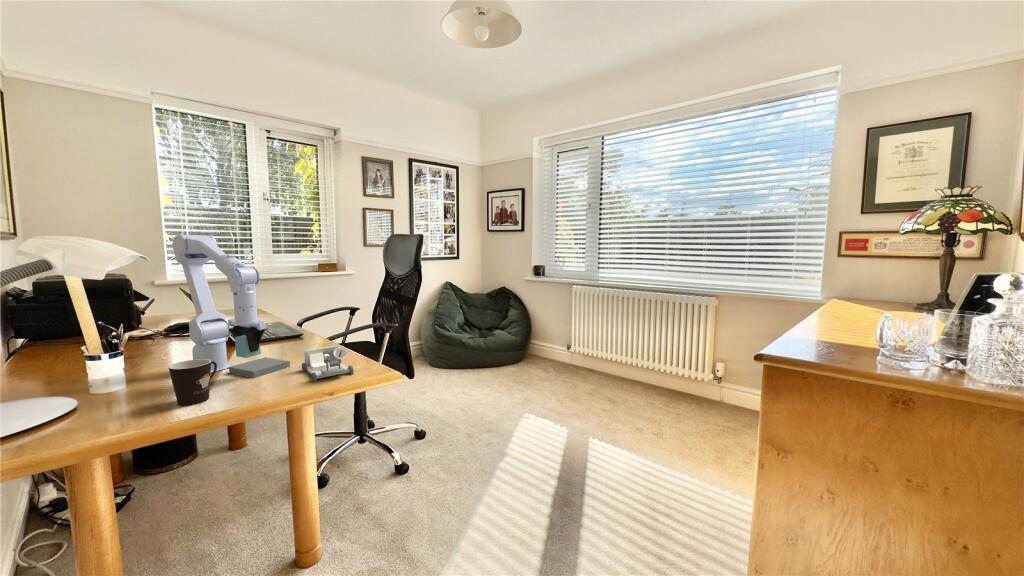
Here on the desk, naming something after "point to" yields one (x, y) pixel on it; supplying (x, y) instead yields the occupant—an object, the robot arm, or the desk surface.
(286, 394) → the desk surface
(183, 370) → the coffee mug
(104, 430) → the desk surface
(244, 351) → the teal block
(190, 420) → the desk surface
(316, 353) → the toy car
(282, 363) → the slate base
